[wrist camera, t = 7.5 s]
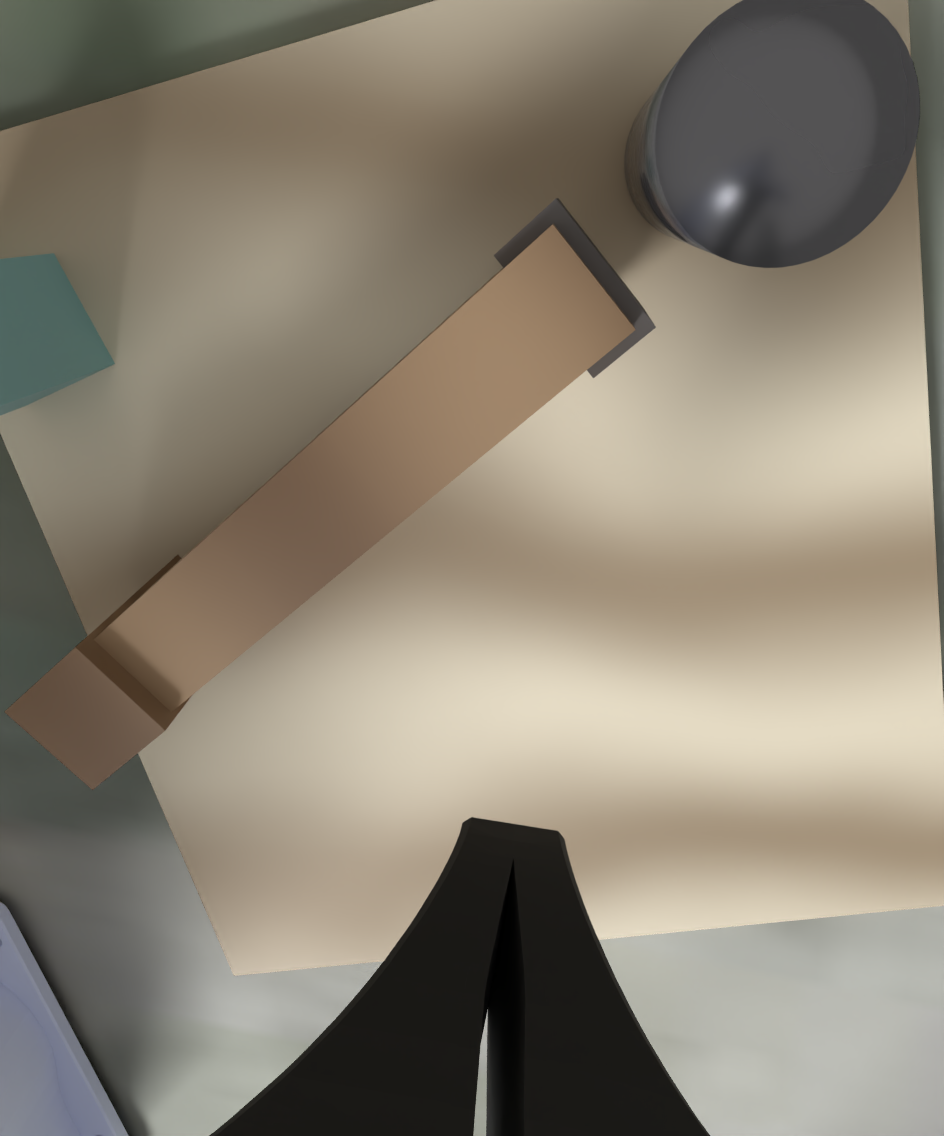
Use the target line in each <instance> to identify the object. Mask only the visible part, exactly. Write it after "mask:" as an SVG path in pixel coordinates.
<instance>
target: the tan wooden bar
mask: <svg viewBox="0 0 944 1136" xmlns="http://www.w3.org/2000/svg"><path fill="white" fill-rule="evenodd" d="M494 257H495V258H496V259H497V261H498V262H499V263H500V264H501V265H502V267H503V268H502V269H501V270H500V271H498V272H497V273H496V274H495V275H494V276H493V277H492V278H491V279H490V280H488V281H487V282H486V283H485V284H484V285H483V286H482V287H481V288H480V289H479V290H477V291H476V292H475V293H474V294H473V295H472V296H471V297H470V298H469V299H468V300H466V301H465V302H464V303H463V304H462V305H461V306H460V307H459V308H458V309H456V310H455V311H454V312H453V313H452V314H451V315H450V316H449V317H448V318H447V319H445V320H444V321H443V322H442V323H441V324H440V325H439V326H438V327H437V328H435V329H434V330H433V331H432V332H431V333H430V334H429V335H428V336H427V337H426V338H424V339H423V340H422V341H421V342H420V343H419V344H418V345H417V346H416V347H415V348H413V349H412V350H411V351H410V352H409V353H408V354H407V355H406V356H405V357H403V358H402V359H401V360H400V361H399V362H398V363H397V364H396V365H395V366H394V367H392V368H391V369H390V370H389V371H388V372H387V373H386V374H385V375H384V376H382V377H381V378H380V379H379V380H378V381H377V382H376V383H375V384H374V385H373V386H371V387H370V388H369V389H368V390H367V391H366V392H365V393H364V394H363V395H362V396H360V397H359V398H358V399H357V400H356V401H355V402H354V403H353V404H352V405H350V406H349V407H348V408H347V409H346V410H345V411H344V412H343V413H342V414H341V415H339V416H338V417H337V418H336V419H335V420H334V421H333V422H332V423H331V424H329V425H328V426H327V427H326V428H325V429H324V430H323V431H322V432H321V433H320V434H318V435H317V436H316V437H315V438H314V439H313V440H312V441H311V442H310V443H309V444H307V445H306V446H305V447H304V448H303V449H302V450H301V451H300V452H299V453H297V454H296V455H295V456H294V457H293V458H292V459H291V460H290V461H289V462H288V463H286V464H285V465H284V466H283V467H282V468H281V469H280V470H279V471H278V472H277V473H275V474H274V475H273V476H272V477H271V478H270V479H269V480H268V481H267V482H265V483H264V484H263V485H262V486H261V487H260V488H259V489H258V490H257V491H256V492H254V493H253V494H252V495H251V496H250V497H249V498H248V499H247V500H246V501H244V502H243V503H242V504H241V505H240V506H239V507H238V508H237V509H236V510H235V511H233V512H232V513H231V514H230V515H229V516H228V517H227V518H226V519H225V520H224V521H222V522H221V523H220V524H219V525H218V526H217V527H216V528H215V529H214V530H212V531H211V532H210V533H209V534H208V535H207V536H206V537H205V538H204V539H203V540H201V541H200V542H199V543H198V544H197V545H196V546H195V547H194V548H193V549H191V550H190V551H189V552H188V553H187V554H186V555H185V556H184V557H183V558H181V557H180V556H179V555H177V556H175V557H174V558H173V559H172V560H171V561H170V562H169V563H168V564H167V565H166V566H164V567H163V568H162V569H161V570H160V571H159V572H158V573H157V574H156V575H154V576H153V577H152V578H151V579H150V580H149V581H148V582H147V583H146V584H145V585H143V586H142V587H141V588H140V589H139V590H138V591H137V592H136V593H135V594H133V595H132V596H131V597H130V598H129V599H128V600H127V601H126V602H125V603H124V604H122V605H121V606H120V607H119V608H118V609H117V610H116V611H115V612H114V613H112V614H111V615H110V616H109V617H108V618H107V619H106V620H105V621H104V622H103V623H101V624H100V625H99V626H98V627H97V628H96V629H95V630H94V631H93V632H91V633H90V634H89V635H88V636H87V637H86V638H85V639H84V640H83V641H82V642H80V643H79V644H78V645H77V646H76V647H75V648H74V649H73V650H72V651H71V652H69V653H68V654H67V655H66V656H65V657H64V658H63V659H62V660H61V661H60V662H58V663H57V664H56V665H55V666H54V667H53V668H52V669H51V670H50V671H49V672H47V673H46V674H45V675H44V676H43V677H42V678H41V679H40V680H39V681H38V682H36V683H35V684H34V685H33V686H32V687H31V688H30V689H29V690H28V691H27V692H25V693H24V694H23V695H22V696H21V697H20V698H19V699H18V700H17V701H16V702H14V703H13V704H12V705H11V706H10V707H9V708H8V709H7V710H6V711H5V713H6V714H7V715H8V716H9V717H10V718H12V719H13V720H14V721H15V722H16V723H17V724H18V725H19V726H21V727H22V728H23V729H24V730H25V731H26V732H27V733H28V734H30V735H31V736H32V737H33V738H34V739H35V740H36V741H38V742H39V743H40V744H41V745H42V746H43V747H44V748H45V749H47V750H48V751H49V752H50V753H51V754H52V755H53V756H54V757H56V758H57V759H58V760H59V761H60V762H61V763H62V764H64V765H65V766H66V767H67V768H68V769H69V770H70V771H71V772H73V773H74V774H75V775H76V776H77V777H78V778H79V779H80V780H82V781H83V782H84V783H85V784H86V785H87V786H88V787H89V788H91V789H92V790H93V789H95V788H96V787H97V786H98V785H99V784H101V783H102V782H103V781H104V780H106V779H107V778H108V777H109V776H111V775H112V774H113V773H114V772H115V771H117V770H118V769H119V768H120V767H122V766H123V765H124V764H125V763H126V762H128V761H129V760H130V759H131V758H133V757H134V756H135V755H136V754H137V753H139V752H140V751H141V750H142V749H144V748H145V747H146V746H147V745H148V744H150V743H151V742H152V741H153V740H155V739H156V738H157V737H158V736H160V735H161V734H162V733H163V732H164V731H166V729H167V728H168V727H169V725H170V724H171V723H172V721H173V720H174V719H175V717H176V716H177V715H178V713H179V712H180V711H181V710H182V708H183V707H184V706H185V704H186V703H187V702H188V700H189V699H190V698H191V696H192V695H193V694H194V693H195V692H197V691H198V690H199V689H200V688H201V687H203V686H204V685H205V684H206V683H207V682H209V681H210V680H211V679H212V678H214V677H215V676H216V675H217V674H218V673H220V672H221V671H222V670H223V669H224V668H226V667H227V666H228V665H229V664H231V663H232V662H233V661H234V660H235V659H237V658H238V657H239V656H240V655H241V654H243V653H244V652H245V651H246V650H248V649H249V648H250V647H251V646H252V645H254V644H255V643H256V642H257V641H258V640H260V639H261V638H262V637H263V636H265V635H266V634H267V633H268V632H269V631H271V630H272V629H273V628H274V627H275V626H277V625H278V624H279V623H280V622H282V621H283V620H284V619H285V618H286V617H288V616H289V615H290V614H291V613H292V612H294V611H295V610H296V609H297V608H299V607H300V606H301V605H302V604H303V603H305V602H306V601H307V600H308V599H309V598H311V597H312V596H313V595H314V594H316V593H317V592H318V591H319V590H320V589H322V588H323V587H324V586H325V585H326V584H328V583H329V582H330V581H331V580H333V579H334V578H335V577H336V576H337V575H339V574H340V573H341V572H342V571H343V570H345V569H346V568H347V567H348V566H350V565H351V564H352V563H353V562H354V561H356V560H357V559H358V558H359V557H360V556H362V555H363V554H364V553H365V552H367V551H368V550H369V549H370V548H371V547H373V546H374V545H375V544H376V543H377V542H379V541H380V540H381V539H382V538H384V537H385V536H386V535H387V534H388V533H390V532H391V531H392V530H393V529H394V528H396V527H397V526H398V525H399V524H400V523H402V522H403V521H404V520H405V519H407V518H408V517H409V516H410V515H411V514H413V513H414V512H415V511H416V510H417V509H419V508H420V507H421V506H422V505H424V504H425V503H426V502H427V501H428V500H430V499H431V498H432V497H433V496H434V495H436V494H437V493H438V492H439V491H441V490H442V489H443V488H444V487H445V486H447V485H448V484H449V483H450V482H451V481H453V480H454V479H455V478H456V477H458V476H459V475H460V474H461V473H462V472H464V471H465V470H466V469H467V468H468V467H470V466H471V465H472V464H473V463H475V462H476V461H477V460H478V459H479V458H481V457H482V456H483V455H484V454H485V453H487V452H488V451H489V450H490V449H492V448H493V447H494V446H495V445H496V444H498V443H499V442H500V441H501V440H502V439H504V438H505V437H506V436H507V435H509V434H510V433H511V432H512V431H513V430H515V429H516V428H517V427H518V426H519V425H521V424H522V423H523V422H524V421H526V420H527V419H528V418H529V417H530V416H532V415H533V414H534V413H535V412H536V411H538V410H539V409H540V408H541V407H543V406H544V405H545V404H546V403H547V402H549V401H550V400H551V399H552V398H553V397H555V396H556V395H557V394H558V393H560V392H561V391H562V390H563V389H564V388H566V387H567V386H568V385H569V384H570V383H572V382H573V381H574V380H575V379H577V378H578V377H579V376H580V375H581V374H583V373H584V372H585V371H586V370H587V371H588V373H589V374H590V375H591V376H592V377H593V378H595V377H596V376H597V375H598V374H600V373H601V372H602V371H603V370H604V369H606V368H607V367H608V366H609V365H611V364H612V363H613V362H614V361H615V360H617V359H618V358H619V357H620V356H622V355H623V354H624V353H625V352H627V351H628V350H629V349H630V348H631V347H633V346H634V345H635V344H636V343H638V342H639V341H640V340H641V339H642V338H644V337H645V336H646V335H647V334H649V333H650V332H651V331H652V330H653V329H655V328H656V326H655V325H654V323H653V322H652V320H651V319H650V317H649V316H648V314H647V312H646V311H645V309H644V308H643V306H642V305H641V304H640V302H639V301H638V300H637V298H636V297H635V296H634V295H633V293H632V292H631V291H630V289H629V288H628V287H627V286H626V284H625V283H624V282H623V280H622V279H621V278H620V277H619V275H618V274H617V273H616V271H615V270H614V269H613V268H612V266H611V265H610V264H609V262H608V261H607V260H606V259H605V257H604V256H603V255H602V254H601V252H600V251H599V250H598V248H597V247H596V246H595V245H594V243H593V242H592V241H591V239H590V238H589V237H588V236H587V234H586V233H585V232H584V230H583V229H582V228H581V227H580V225H579V224H578V223H577V221H576V220H575V219H574V218H573V216H572V215H571V214H570V212H569V211H568V210H567V209H566V207H565V206H564V205H563V203H562V202H561V201H560V200H559V198H556V199H555V200H554V201H553V202H551V203H550V204H549V205H548V206H547V207H546V208H545V209H544V210H543V211H542V212H540V213H539V214H538V215H537V216H536V217H535V218H534V219H533V220H532V221H531V222H530V223H528V224H527V225H526V226H525V227H524V228H523V229H522V230H521V231H520V232H519V233H518V234H516V235H515V236H514V237H513V238H512V239H511V240H510V241H509V242H508V243H507V244H506V245H504V246H503V247H502V248H501V249H500V250H499V251H498V252H497V253H496V254H495V255H494Z"/></svg>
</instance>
